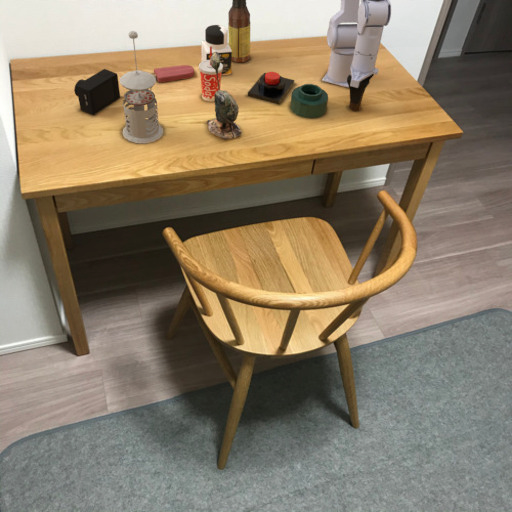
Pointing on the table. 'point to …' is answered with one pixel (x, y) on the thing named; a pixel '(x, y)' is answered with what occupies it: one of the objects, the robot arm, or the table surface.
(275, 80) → the button
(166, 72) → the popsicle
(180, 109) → the table surface
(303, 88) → the green stepped cylinder
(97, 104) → the digital camera
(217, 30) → the medicine bottle
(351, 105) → the brown cylinder
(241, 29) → the sauce bottle
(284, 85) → the button box
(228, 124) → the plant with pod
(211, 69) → the beverage cup
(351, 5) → the robot arm
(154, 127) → the french press
